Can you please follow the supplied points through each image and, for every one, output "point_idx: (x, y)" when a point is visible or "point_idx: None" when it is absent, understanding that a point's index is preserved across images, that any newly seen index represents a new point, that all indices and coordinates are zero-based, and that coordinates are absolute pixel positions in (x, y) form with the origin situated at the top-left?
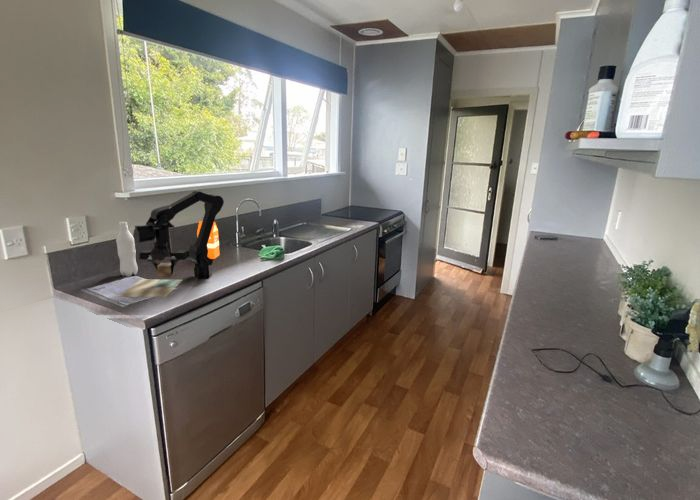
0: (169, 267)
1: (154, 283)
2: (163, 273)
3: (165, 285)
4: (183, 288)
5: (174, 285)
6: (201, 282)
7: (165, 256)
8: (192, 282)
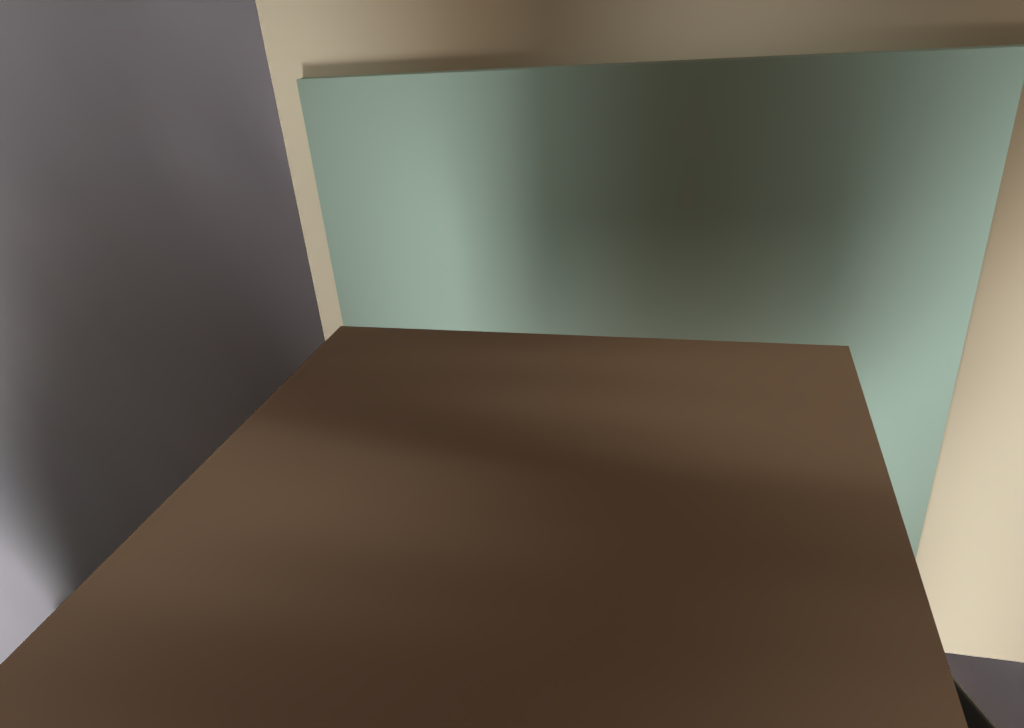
0: (20, 671)
1: (1007, 387)
2: (555, 431)
3: (586, 181)
4: (165, 151)
5: (336, 186)
6: (55, 478)
7: None
8: None
